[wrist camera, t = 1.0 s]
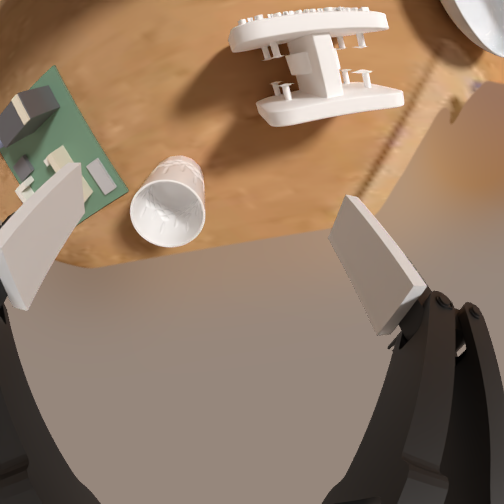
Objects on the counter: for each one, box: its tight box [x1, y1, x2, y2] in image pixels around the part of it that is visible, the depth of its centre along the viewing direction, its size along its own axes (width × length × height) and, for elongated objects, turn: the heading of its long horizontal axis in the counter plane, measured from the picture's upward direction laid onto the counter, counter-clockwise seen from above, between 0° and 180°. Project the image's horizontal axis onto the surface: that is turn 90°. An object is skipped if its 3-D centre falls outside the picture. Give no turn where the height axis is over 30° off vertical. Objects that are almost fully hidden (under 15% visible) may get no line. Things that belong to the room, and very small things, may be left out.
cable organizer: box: [228, 7, 404, 127], centre depth 22 cm, size 15×11×12 cm
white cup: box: [130, 155, 205, 247], centre depth 31 cm, size 8×8×10 cm
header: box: [15, 145, 93, 204], centre depth 30 cm, size 8×11×4 cm
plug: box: [0, 85, 60, 148], centre depth 22 cm, size 4×6×7 cm, turn 113°
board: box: [0, 65, 129, 224], centre depth 28 cm, size 22×16×3 cm
